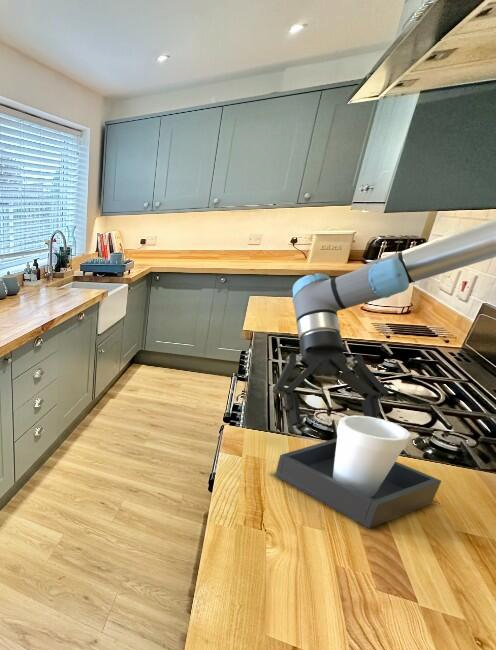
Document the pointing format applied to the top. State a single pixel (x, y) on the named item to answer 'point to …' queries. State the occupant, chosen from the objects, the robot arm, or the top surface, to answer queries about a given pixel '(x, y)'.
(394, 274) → the robot arm
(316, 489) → the tray
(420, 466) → the top surface
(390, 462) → the foam cup
